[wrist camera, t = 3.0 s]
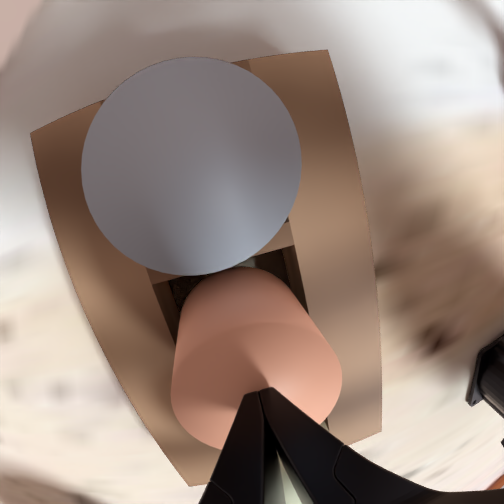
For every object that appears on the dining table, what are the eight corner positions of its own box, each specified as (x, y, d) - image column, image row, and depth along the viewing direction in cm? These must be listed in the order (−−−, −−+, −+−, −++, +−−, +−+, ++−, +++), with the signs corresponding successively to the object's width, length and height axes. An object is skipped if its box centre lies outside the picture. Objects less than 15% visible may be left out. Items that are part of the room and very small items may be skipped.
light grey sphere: (277, 214, 12) (321, 242, 8) (150, 250, 12) (119, 299, 7) (245, 87, 11) (271, 38, 6) (115, 124, 10) (62, 99, 6)
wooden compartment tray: (362, 402, 19) (381, 431, 16) (188, 452, 18) (189, 486, 15) (305, 70, 13) (327, 49, 10) (60, 138, 12) (30, 133, 9)
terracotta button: (308, 354, 14) (347, 424, 9) (201, 384, 14) (204, 465, 9) (286, 251, 13) (331, 297, 8) (162, 286, 12) (142, 351, 8)
